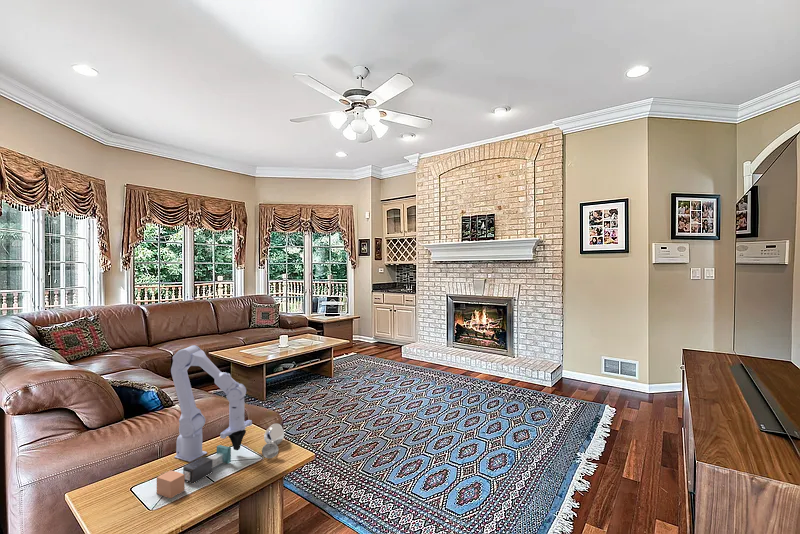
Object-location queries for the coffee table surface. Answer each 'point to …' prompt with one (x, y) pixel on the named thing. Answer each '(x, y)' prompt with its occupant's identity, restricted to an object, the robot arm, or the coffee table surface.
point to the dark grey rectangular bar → (199, 468)
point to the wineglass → (272, 440)
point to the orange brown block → (170, 483)
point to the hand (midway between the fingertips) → (236, 449)
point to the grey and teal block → (215, 459)
